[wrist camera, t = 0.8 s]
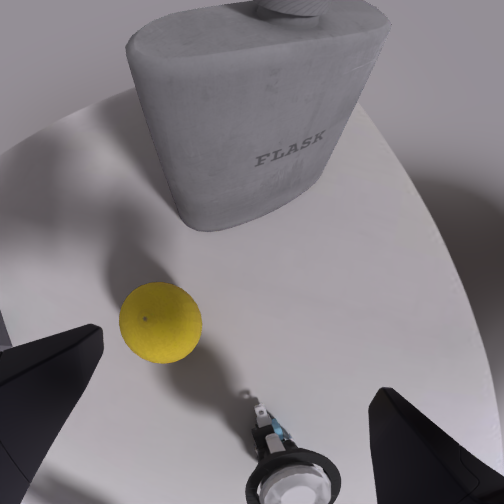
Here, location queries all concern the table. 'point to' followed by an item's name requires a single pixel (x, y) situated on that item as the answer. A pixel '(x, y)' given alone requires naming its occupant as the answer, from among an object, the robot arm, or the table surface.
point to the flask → (251, 99)
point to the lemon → (160, 322)
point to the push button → (288, 469)
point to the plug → (4, 336)
